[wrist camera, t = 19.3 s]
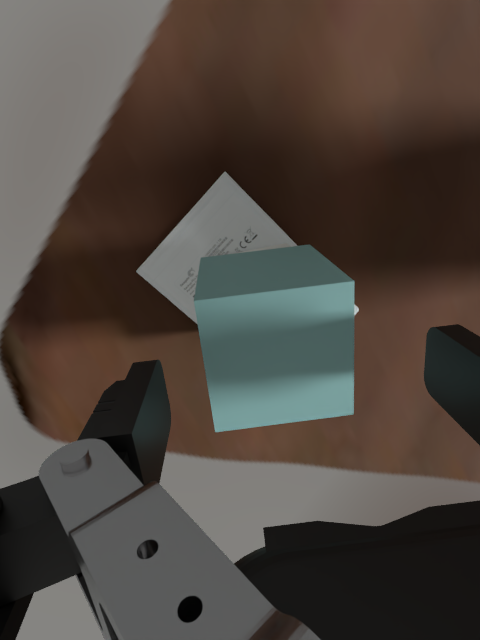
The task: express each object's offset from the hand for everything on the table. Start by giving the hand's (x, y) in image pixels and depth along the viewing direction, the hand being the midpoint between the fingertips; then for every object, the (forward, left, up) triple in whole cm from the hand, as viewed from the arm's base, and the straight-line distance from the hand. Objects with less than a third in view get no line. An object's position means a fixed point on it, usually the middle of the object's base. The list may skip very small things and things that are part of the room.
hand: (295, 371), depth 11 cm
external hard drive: (0, +1, -15) cm, 15 cm away
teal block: (0, 0, -7) cm, 7 cm away
